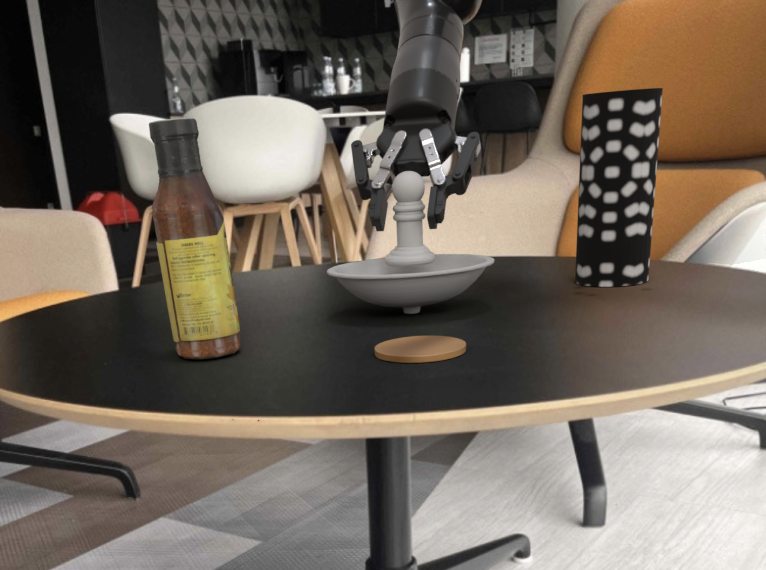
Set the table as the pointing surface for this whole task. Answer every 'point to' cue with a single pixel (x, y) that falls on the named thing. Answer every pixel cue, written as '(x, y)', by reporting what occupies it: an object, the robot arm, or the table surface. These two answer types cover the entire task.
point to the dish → (411, 280)
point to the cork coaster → (420, 349)
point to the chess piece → (409, 222)
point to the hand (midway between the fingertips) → (405, 224)
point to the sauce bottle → (192, 247)
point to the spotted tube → (617, 186)
